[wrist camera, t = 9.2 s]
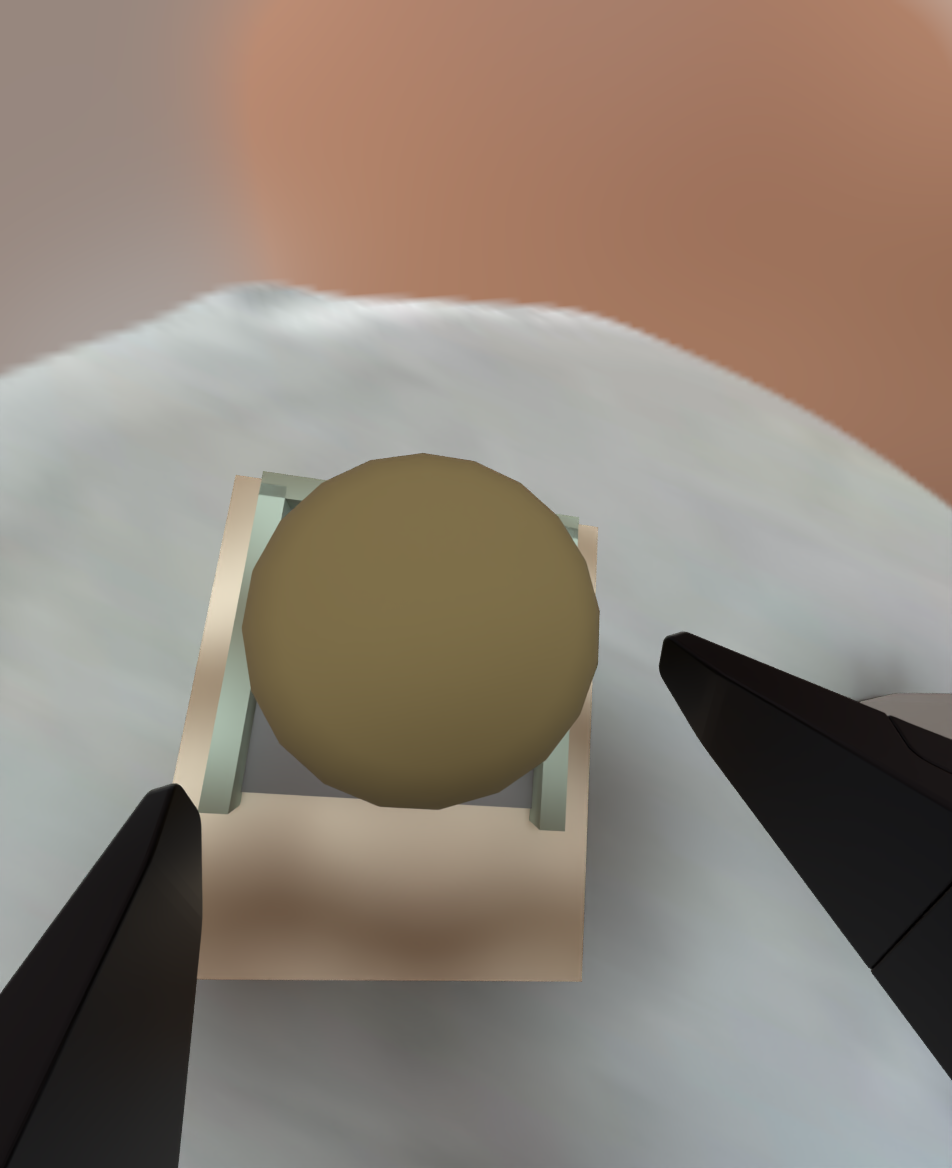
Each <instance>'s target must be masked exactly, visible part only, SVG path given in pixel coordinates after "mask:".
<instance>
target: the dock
mask: <svg viewBox="0 0 952 1168" xmlns="http://www.w3.org/2000/svg"><path fill="white" fill-rule="evenodd" d="M325 481H327V480H320V479H313V478H306V477H299V476H293V475H286V474H279V473H272V472H265V471H263V475H262V479H259V478H252V477H246V476H239V475H236V477H235V481H234V486H233V491H232V496H231V501H230V506H229V511H228V516H227V520H226V525H225V530H224V535H223V540H222V545H221V550H220V555H219V559H218V564H217V569H216V574H215V579H214V584H213V589H212V594H211V599H210V603H209V608H208V613H207V618H206V623H205V628H204V633H203V638H202V642H201V647H200V652H199V657H198V662H197V667H196V672H195V677H194V681H193V686H192V691H191V696H190V701H189V706H188V711H187V716H186V720H185V725H184V730H183V735H182V740H181V745H180V750H179V755H178V759H177V764H176V769H175V774H174V779H173V783H177V784H179V785H181V786H182V787H183V789H184V790H185V792H186V793H187V795H188V796H189V798H190V799H191V801H192V802H193V804H194V805H195V806H196V808H197V810H198V811H199V814H200V818H201V826H202V892H203V919H202V933H201V944H200V954H199V964H198V974H197V979H214V980H395V981H576V982H582V958H583V930H584V902H585V874H586V846H587V818H588V790H589V762H590V733H591V705H592V682H591V685H590V688H589V691H588V694H587V697H586V699H585V702H584V705H583V708H582V711H581V714H580V716H579V717H578V718H577V720H576V721H575V722H574V724H573V725H572V726H571V728H570V729H569V730H568V732H567V733H566V734H565V736H564V737H563V738H562V740H561V741H560V742H559V744H558V745H557V746H556V748H555V749H554V750H553V752H552V753H551V754H550V756H549V757H548V758H547V760H545V761H544V762H542V763H541V764H540V765H538V766H537V767H535V768H534V769H532V770H531V771H529V772H528V773H527V774H525V775H524V776H522V777H521V778H519V779H518V780H516V781H515V782H514V783H512V784H511V785H509V786H508V787H506V788H505V789H503V790H502V791H501V792H499V793H496V794H493V795H489V796H486V797H482V798H479V799H475V800H472V801H468V802H465V803H461V804H458V805H454V806H451V807H447V808H444V809H440V810H429V809H410V808H391V807H378V806H376V805H374V804H371V803H369V802H366V801H364V800H362V799H359V798H357V797H354V796H352V795H349V794H347V793H345V792H342V791H340V790H337V789H335V788H332V787H330V786H328V785H325V784H323V783H322V782H321V781H320V780H319V779H318V778H317V777H316V776H315V775H314V774H312V773H311V772H310V771H309V770H308V769H307V768H306V767H305V766H304V765H302V764H301V763H300V762H299V761H298V760H297V759H296V758H295V757H294V756H292V755H291V754H290V753H289V752H288V751H287V750H286V749H285V748H284V747H283V746H281V745H280V744H279V742H278V740H277V738H276V736H275V734H274V733H273V731H272V729H271V727H270V725H269V723H268V721H267V720H266V718H265V716H264V714H263V712H262V710H261V708H260V706H259V705H258V703H257V701H256V699H255V697H254V695H253V693H252V692H251V686H250V680H249V673H248V667H247V660H246V654H245V647H244V640H243V634H242V623H243V618H244V613H245V607H246V602H247V597H248V591H249V586H250V581H251V575H252V570H253V569H254V567H255V565H256V563H257V561H258V560H259V558H260V556H261V554H262V552H263V551H264V549H265V547H266V545H267V544H268V542H269V540H270V538H271V536H272V535H273V533H274V531H275V529H276V528H277V526H278V524H279V522H280V521H281V520H282V519H283V518H284V517H285V516H286V515H287V514H288V513H289V512H290V511H291V510H293V509H294V508H295V507H296V506H297V505H298V504H299V503H300V502H301V501H302V500H303V499H305V498H306V497H307V496H308V495H309V494H310V493H311V492H312V491H313V490H314V489H315V488H317V487H318V486H319V485H320V484H321V483H323V482H325ZM556 515H557V516H558V517H559V518H560V520H561V521H562V523H563V525H564V526H565V528H566V529H567V531H568V533H569V534H570V536H571V537H572V539H573V541H574V542H575V544H576V546H577V547H578V549H579V550H580V552H581V554H582V555H583V557H584V558H585V560H586V563H587V566H588V570H589V574H590V577H591V581H592V585H593V589H594V592H595V593H596V565H597V537H598V527H593V526H586V525H579V517H573V516H567V515H560V514H556Z"/></svg>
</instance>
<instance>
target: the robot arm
mask: <svg viewBox="0 0 952 1168" xmlns="http://www.w3.org/2000/svg"><path fill="white" fill-rule="evenodd" d="M659 671H660V674H661V677H662V679H663V681H664V682H665V684H666V686H667V687H668V689H669V691H670V692H671V694H672V696H673V697H674V699H675V701H676V702H677V704H678V706H679V707H680V709H681V711H682V712H683V714H684V716H685V717H686V719H687V721H688V722H689V724H690V726H691V727H692V729H693V731H694V732H695V734H696V736H697V737H698V739H699V740H700V742H701V743H702V745H703V746H704V747H705V749H706V750H707V752H708V753H709V754H710V756H711V757H712V758H713V760H714V761H715V762H716V764H717V765H718V766H719V768H720V769H721V770H722V772H723V773H724V775H725V776H726V777H727V779H728V780H729V781H730V783H731V784H732V785H733V787H734V788H735V789H736V791H737V792H738V793H739V795H740V796H741V797H742V799H743V800H744V801H745V803H746V804H747V805H748V807H749V808H750V809H751V811H752V812H753V813H754V815H755V816H756V817H757V819H758V820H759V822H760V823H761V824H762V826H763V827H764V828H765V830H766V831H767V832H768V834H769V835H770V836H771V838H772V839H773V840H774V842H775V843H776V844H777V846H778V847H779V848H780V850H781V851H782V852H783V854H784V855H785V856H786V858H787V859H788V860H789V862H790V863H791V864H792V866H793V867H794V869H795V870H796V871H797V873H798V874H799V875H800V877H801V878H802V879H803V881H804V882H805V883H806V885H807V886H808V887H809V889H810V890H811V891H812V893H813V894H814V895H815V897H816V898H817V899H818V901H819V902H820V903H821V905H822V906H823V907H824V909H825V910H826V911H827V913H828V914H829V916H830V917H831V918H832V920H833V921H834V922H835V924H836V925H837V926H838V928H839V929H840V930H841V932H842V933H843V934H844V936H845V937H846V938H847V940H848V941H849V942H850V944H851V945H852V946H853V948H854V949H855V950H856V952H857V953H858V954H859V956H860V957H861V958H862V960H863V961H864V963H865V964H866V965H867V967H868V968H870V969H871V972H872V974H873V975H874V977H875V978H876V979H877V981H878V982H879V983H880V985H881V986H882V987H883V989H884V990H885V991H886V993H887V994H888V995H889V997H890V998H891V999H892V1001H893V1002H894V1003H895V1005H896V1006H897V1007H898V1009H899V1010H900V1011H901V1013H902V1014H903V1015H904V1017H905V1018H906V1019H907V1021H908V1022H909V1023H910V1025H911V1026H912V1027H913V1029H914V1030H915V1032H916V1033H917V1034H918V1036H919V1037H920V1038H921V1040H922V1041H923V1042H924V1044H925V1045H926V1046H927V1048H928V1049H929V1050H930V1052H931V1053H932V1054H933V1056H934V1057H935V1058H936V1060H937V1061H938V1062H939V1064H940V1065H941V1066H942V1068H943V1069H944V1070H945V1072H946V1073H947V1074H948V1076H949V1077H950V1078H951V1080H952V739H950V738H947V737H945V736H942V735H940V734H937V733H934V732H932V731H929V730H927V729H924V728H922V727H919V726H917V725H914V724H912V723H909V722H907V721H904V720H902V719H899V718H897V717H895V716H892V715H888V716H887V714H886V713H884V712H882V711H880V710H877V709H875V708H872V707H870V706H867V705H865V704H862V703H860V702H857V701H855V700H853V699H850V698H848V697H845V696H843V695H840V694H838V693H835V692H833V691H831V690H828V689H826V688H823V687H821V686H818V685H816V684H813V683H811V682H808V681H806V680H804V679H801V678H799V677H796V676H794V675H791V674H789V673H786V672H784V671H782V670H779V669H777V668H774V667H772V666H769V665H767V664H764V663H762V662H759V661H757V660H755V659H752V658H750V657H747V656H745V655H742V654H740V653H737V652H735V651H733V650H730V649H728V648H725V647H723V646H720V645H718V644H715V643H713V642H710V641H708V640H706V639H703V638H701V637H698V636H696V635H693V634H691V633H688V632H679V633H676V634H672V635H669V636H667V637H666V638H665V639H664V641H663V645H662V651H661V657H660V662H659ZM202 919H203V892H202V826H201V818H200V814H199V811H198V810H197V808H196V806H195V805H194V804H193V802H192V801H191V799H190V798H189V796H188V795H187V793H186V792H185V790H184V789H183V787H182V786H181V785H179V784H177V783H173V784H169V785H166V786H163V787H159V788H156V789H153V790H151V791H149V792H148V793H147V794H146V795H145V796H144V798H143V799H142V800H141V802H140V803H139V805H138V806H137V807H136V809H135V810H134V811H133V813H132V814H131V815H130V817H129V818H128V820H127V821H126V822H125V824H124V825H123V826H122V828H121V829H120V831H119V832H118V833H117V835H116V836H115V837H114V839H113V840H112V841H111V843H110V844H109V846H108V847H107V848H106V850H105V851H104V852H103V854H102V855H101V856H100V858H99V859H98V861H97V862H96V863H95V865H94V866H93V867H92V869H91V870H90V872H89V873H88V874H87V876H86V877H85V878H84V880H83V881H82V882H81V884H80V885H79V887H78V888H77V889H76V891H75V892H74V893H73V895H72V896H71V898H70V899H69V900H68V902H67V903H66V904H65V906H64V907H63V908H62V910H61V911H60V913H59V914H58V915H57V917H56V918H55V919H54V921H53V922H52V923H51V925H50V926H49V928H48V929H47V930H46V932H45V933H44V934H43V936H42V937H41V939H40V940H39V941H38V943H37V944H36V945H35V947H34V948H33V949H32V951H31V952H30V954H29V955H28V956H27V958H26V959H25V960H24V962H23V963H22V965H21V966H20V967H19V969H18V970H17V971H16V973H15V974H14V975H13V977H12V978H11V980H10V981H9V982H8V984H7V985H6V986H5V988H4V989H3V990H2V992H1V993H0V1168H178V1163H179V1153H180V1143H181V1133H182V1123H183V1113H184V1103H185V1093H186V1083H187V1073H188V1063H189V1053H190V1043H191V1033H192V1023H193V1013H194V1003H195V994H196V984H197V974H198V964H199V954H200V944H201V933H202Z"/></svg>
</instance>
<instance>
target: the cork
mask: <svg viewBox="0 0 952 1168" xmlns="http://www.w3.org/2000/svg"><path fill="white" fill-rule="evenodd" d="M599 613H600V611H599V607H598V603H597V600H596V596H595V592H594V589H593V585H592V581H591V577H590V574H589V570H588V566H587V563H586V560H585V558H584V557H583V555H582V554H581V552H580V550H579V549H578V547H577V546H576V544H575V542H574V541H573V539H572V537H571V536H570V534H569V533H568V531H567V529H566V528H565V526H564V525H563V523H562V521H561V520H560V518H559V517H558V516H557V515H556V514H555V513H554V512H553V511H551V510H550V509H549V508H548V507H547V506H546V505H545V504H544V503H542V502H541V501H540V500H539V499H538V498H537V497H536V496H535V495H533V494H532V493H531V492H530V491H529V490H528V489H527V488H526V487H525V486H523V485H522V484H521V483H519V482H517V481H515V480H513V479H511V478H509V477H507V476H505V475H502V474H500V473H498V472H496V471H494V470H492V469H490V468H488V467H486V466H483V465H481V464H479V463H477V462H475V461H470V460H464V459H457V458H451V457H445V456H438V455H432V454H425V453H420V454H413V455H406V456H398V457H391V458H384V459H376V460H370V461H368V462H366V463H364V464H361V465H359V466H357V467H355V468H353V469H351V470H349V471H346V472H344V473H342V474H340V475H338V476H336V477H333V478H331V479H329V480H327V481H325V482H323V483H321V484H320V485H319V486H318V487H317V488H315V489H314V490H313V491H312V492H311V493H310V494H309V495H308V496H307V497H306V498H305V499H303V500H302V501H301V502H300V503H299V504H298V505H297V506H296V507H295V508H294V509H293V510H291V511H290V512H289V513H288V514H287V515H286V516H285V517H284V518H283V519H282V520H281V521H280V522H279V524H278V526H277V528H276V529H275V531H274V533H273V535H272V536H271V538H270V540H269V542H268V544H267V545H266V547H265V549H264V551H263V552H262V554H261V556H260V558H259V560H258V561H257V563H256V565H255V567H254V569H253V570H252V575H251V581H250V586H249V591H248V597H247V602H246V607H245V613H244V618H243V623H242V634H243V640H244V647H245V654H246V660H247V667H248V673H249V680H250V686H251V692H252V693H253V695H254V697H255V699H256V701H257V703H258V705H259V706H260V708H261V710H262V712H263V714H264V716H265V718H266V720H267V721H268V723H269V725H270V727H271V729H272V731H273V733H274V734H275V736H276V738H277V740H278V742H279V744H280V745H281V746H283V747H284V748H285V749H286V750H287V751H288V752H289V753H290V754H291V755H292V756H294V757H295V758H296V759H297V760H298V761H299V762H300V763H301V764H302V765H304V766H305V767H306V768H307V769H308V770H309V771H310V772H311V773H312V774H314V775H315V776H316V777H317V778H318V779H319V780H320V781H321V782H322V783H323V784H325V785H328V786H330V787H332V788H335V789H337V790H340V791H342V792H345V793H347V794H349V795H352V796H354V797H357V798H359V799H362V800H364V801H366V802H369V803H371V804H374V805H376V806H378V807H391V808H410V809H429V810H440V809H444V808H447V807H451V806H454V805H458V804H461V803H465V802H468V801H472V800H475V799H479V798H482V797H486V796H489V795H493V794H496V793H499V792H501V791H502V790H503V789H505V788H506V787H508V786H509V785H511V784H512V783H514V782H515V781H516V780H518V779H519V778H521V777H522V776H524V775H525V774H527V773H528V772H529V771H531V770H532V769H534V768H535V767H537V766H538V765H540V764H541V763H542V762H544V761H545V760H547V758H548V757H549V756H550V754H551V753H552V752H553V750H554V749H555V748H556V746H557V745H558V744H559V742H560V741H561V740H562V738H563V737H564V736H565V734H566V733H567V732H568V730H569V729H570V728H571V726H572V725H573V724H574V722H575V721H576V720H577V718H578V717H579V716H580V714H581V711H582V708H583V705H584V702H585V699H586V697H587V694H588V691H589V688H590V685H591V682H592V679H593V676H594V674H595V671H596V668H597V665H598V645H599Z"/></svg>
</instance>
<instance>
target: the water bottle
mask: <svg viewBox="0 0 952 1168" xmlns="http://www.w3.org/2000/svg"><path fill="white" fill-rule="evenodd" d="M860 703H862V704H865V705H867V706H870V707H872V708H875V709H877V710H880V711H882V712H884V713H886V714H887V716H888V715H892V716H895V717H897V718H899V719H902V720H904V721H907V722H909V723H912V724H914V725H917V726H919V727H922V728H924V729H927V730H929V731H932V732H934V733H937V734H940V735H942V736H945V737H947V738H950V739H952V694H942V693H895V694H890V695H886V696H882V697H877V698H873V699H869V700H864V701H861V702H860Z"/></svg>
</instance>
